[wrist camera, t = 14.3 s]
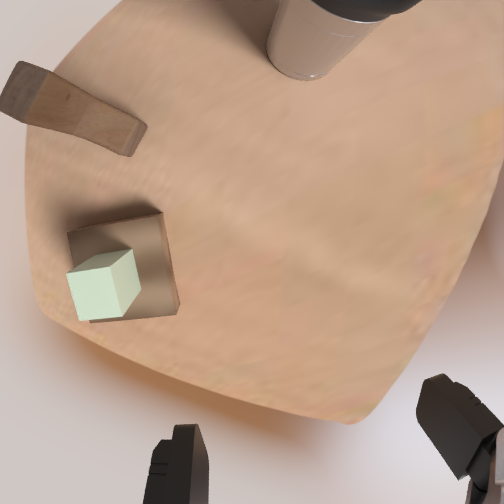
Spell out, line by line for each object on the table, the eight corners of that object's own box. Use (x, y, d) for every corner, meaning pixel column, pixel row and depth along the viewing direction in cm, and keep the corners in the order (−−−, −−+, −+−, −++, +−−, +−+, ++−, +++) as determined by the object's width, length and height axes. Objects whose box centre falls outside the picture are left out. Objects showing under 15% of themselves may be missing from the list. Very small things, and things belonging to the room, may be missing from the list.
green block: (95, 254, 34) (66, 273, 26) (132, 248, 34) (109, 266, 27) (104, 294, 35) (79, 320, 27) (141, 289, 36) (122, 316, 28)
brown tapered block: (80, 227, 37) (67, 232, 33) (163, 212, 38) (157, 215, 34) (100, 311, 40) (90, 323, 36) (180, 302, 40) (176, 314, 37)
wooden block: (149, 126, 35) (91, 87, 17) (132, 158, 35) (61, 144, 18) (94, 100, 33) (17, 58, 16) (78, 131, 34) (-8, 108, 16)
